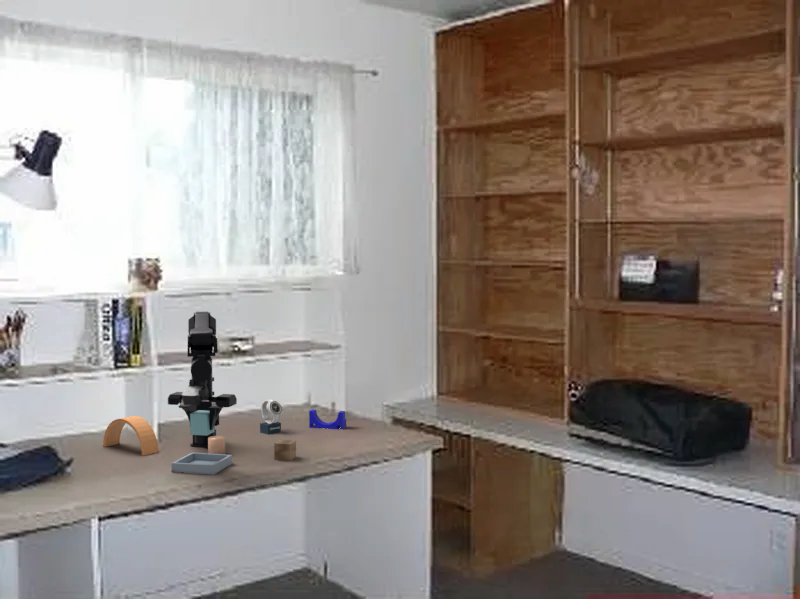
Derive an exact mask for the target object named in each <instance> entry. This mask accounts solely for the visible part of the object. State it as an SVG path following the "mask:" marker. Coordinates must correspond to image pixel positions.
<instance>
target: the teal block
mask: <svg viewBox="0 0 800 599" xmlns="http://www.w3.org/2000/svg"><path fill="white" fill-rule="evenodd" d="M209 424H210V411H203V410H198V411H195V412H193V413H190V421H189V429H190V435H191V436H193V435H206V436H207V435H209V434H211V433H213V432H214V427H213V430H210V426H209Z"/></svg>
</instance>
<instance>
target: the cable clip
mask: <svg viewBox="0 0 800 599" xmlns="http://www.w3.org/2000/svg"><path fill="white" fill-rule="evenodd" d="M308 414H309V417H308V418H309V419H308V420H309V426H308V427H309V429H322V428H325V429H324V430H340V429H343V428H344V429H346V428H347V418H346V411H345V410H340V411H339V412H338V413H337V417H336V420H335V421H330V422H325V421H323V420H322V419H321V418H320V417H319V416H318V413H317V409H310V410H309V413H308ZM340 427H341V428H340ZM345 427H346V428H345ZM327 428H328V429H327ZM339 428H340V429H339ZM344 429H343V430H344Z"/></svg>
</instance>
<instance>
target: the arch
mask: <svg viewBox="0 0 800 599" xmlns="http://www.w3.org/2000/svg"><path fill="white" fill-rule="evenodd" d="M126 424H127V425H128V426H129V427H131V428H132V430H133V431H134V433H135V434H136V436H137V438H138V441H139V445H140V448H141V456H147V455H151V454H156V453H159V452H160V450H159V444H158V439H157V436H156V433H155V431H154V429H153V427H152V426H151V424H150V423H149V422H148V421H147V420H146V419H144V418H143V417H142V416H138V415H132V416H126V417H121V418H117V419H116V418H115V419H114V420H112V421H111V422H110V423H109V424H108V426H107V427H106V429H105V432H104V434H103V435H104V436H103V440H102V443H103V445H102V446H103V447H109V446H114V445H115V446H116V445H118V444H119V445H120V442H121V440H120V439H121V434H122V432H123V429H124V427H125V425H126Z"/></svg>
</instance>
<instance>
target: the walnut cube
mask: <svg viewBox="0 0 800 599" xmlns="http://www.w3.org/2000/svg"><path fill="white" fill-rule="evenodd" d="M273 444H274V445H273V447H274V448H273V451H274V452H273V453H274V454H273V456H274V457H273V458H274V461H275V460H277V461H287V462H288V461H289V462H290V461H292V460H293V458H294V459H295V458H296V457H297V440H295V439H294V440H293V439H279V440H277V441H276V442H274V443H273Z"/></svg>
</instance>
